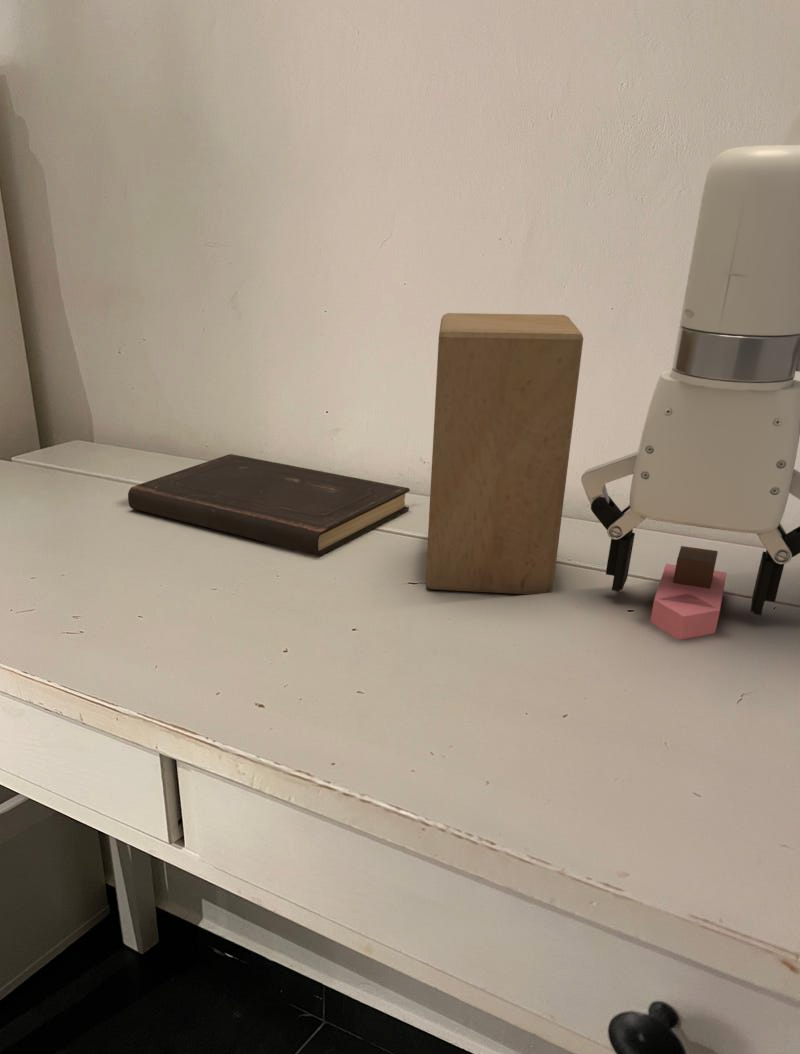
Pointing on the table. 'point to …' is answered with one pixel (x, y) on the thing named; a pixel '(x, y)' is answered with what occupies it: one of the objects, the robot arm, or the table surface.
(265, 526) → the hardcover book
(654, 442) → the robot arm
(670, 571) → the pink and brown blocks
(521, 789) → the table surface
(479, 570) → the wooden block
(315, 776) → the table surface
